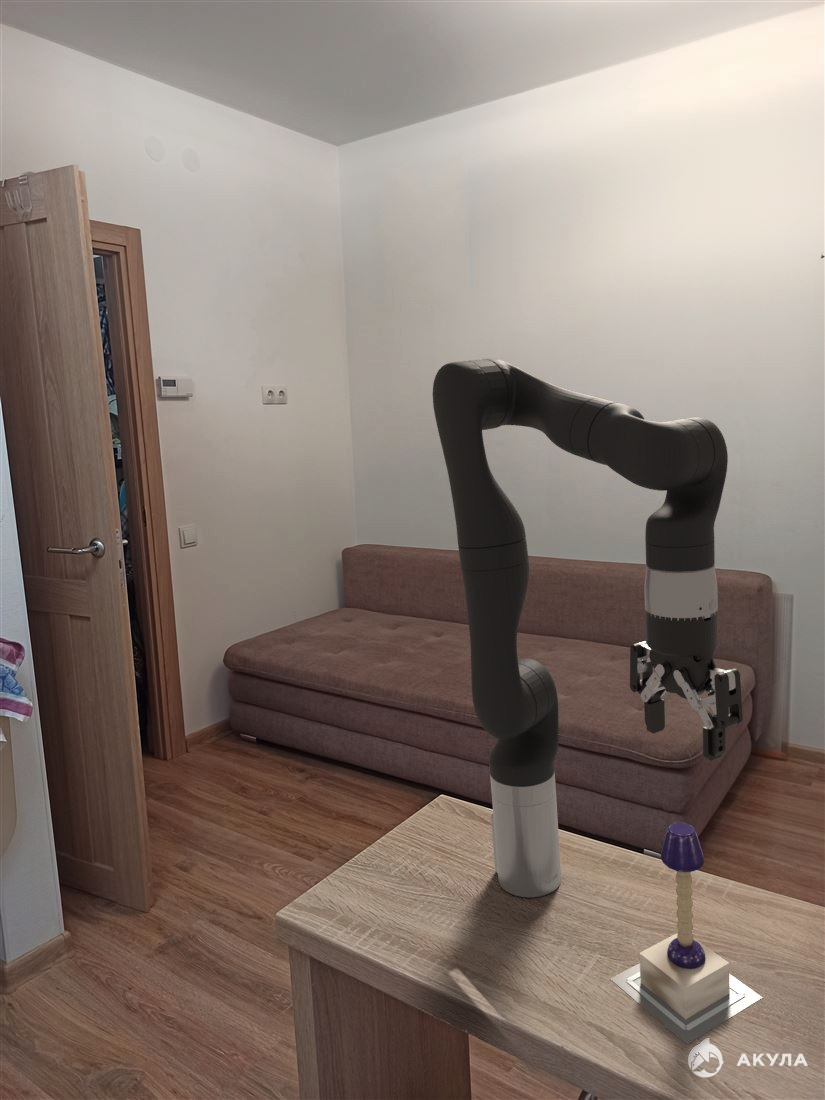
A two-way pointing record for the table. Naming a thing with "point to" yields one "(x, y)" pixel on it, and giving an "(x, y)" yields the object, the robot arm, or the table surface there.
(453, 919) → the table surface
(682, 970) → the cream block
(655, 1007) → the slate board
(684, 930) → the toy lamp
